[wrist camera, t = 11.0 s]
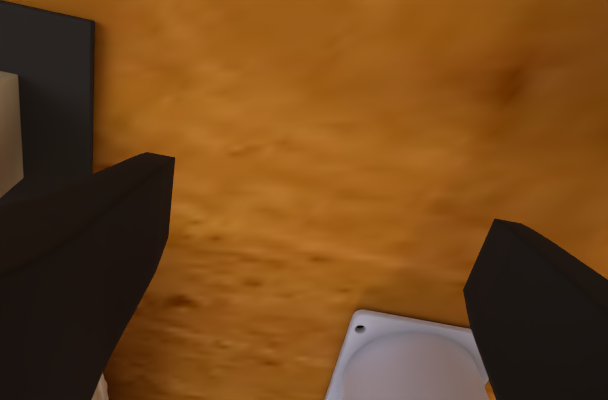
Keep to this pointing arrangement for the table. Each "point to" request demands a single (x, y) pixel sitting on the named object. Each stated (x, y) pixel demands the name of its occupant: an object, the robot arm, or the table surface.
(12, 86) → the top cube
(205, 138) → the table surface
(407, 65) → the table surface
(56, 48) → the mat
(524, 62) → the table surface
